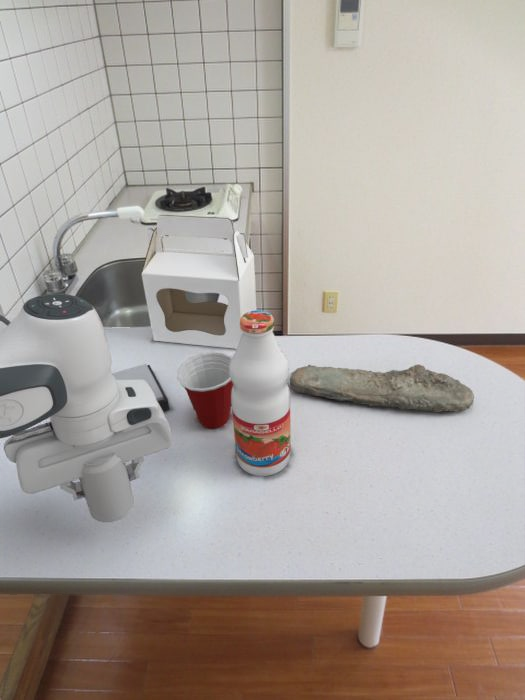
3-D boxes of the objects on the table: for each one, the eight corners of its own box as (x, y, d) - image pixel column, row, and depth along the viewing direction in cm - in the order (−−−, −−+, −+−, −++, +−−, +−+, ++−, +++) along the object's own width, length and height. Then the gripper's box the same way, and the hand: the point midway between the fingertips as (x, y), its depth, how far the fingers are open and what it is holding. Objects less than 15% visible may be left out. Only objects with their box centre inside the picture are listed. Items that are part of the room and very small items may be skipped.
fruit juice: (291, 438, 94) (291, 302, 78) (289, 479, 86) (288, 337, 70) (239, 436, 95) (228, 301, 79) (232, 476, 87) (218, 335, 71)
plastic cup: (179, 407, 102) (171, 357, 95) (233, 395, 105) (228, 345, 98) (190, 445, 94) (181, 393, 87) (248, 431, 96) (244, 379, 89)
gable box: (258, 319, 128) (252, 207, 112) (244, 350, 117) (237, 231, 101) (172, 312, 132) (155, 203, 116) (152, 341, 122) (130, 225, 106)
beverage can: (90, 530, 74) (71, 471, 67) (90, 496, 79) (72, 437, 72) (136, 520, 75) (122, 460, 69) (133, 486, 80) (119, 428, 74)
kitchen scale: (80, 438, 96) (76, 425, 94) (69, 398, 106) (65, 385, 104) (169, 409, 102) (167, 396, 100) (151, 373, 111) (148, 361, 110)
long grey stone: (295, 373, 112) (286, 405, 104) (293, 354, 109) (284, 385, 101) (470, 385, 103) (474, 421, 96) (474, 364, 100) (478, 400, 92)
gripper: (0, 454, 61) (32, 530, 69) (170, 402, 68) (181, 476, 76) (-3, 422, 66) (27, 496, 73) (156, 376, 73) (168, 448, 80)
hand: (107, 486), depth 75 cm, fingers closed on beverage can, 6 cm apart
